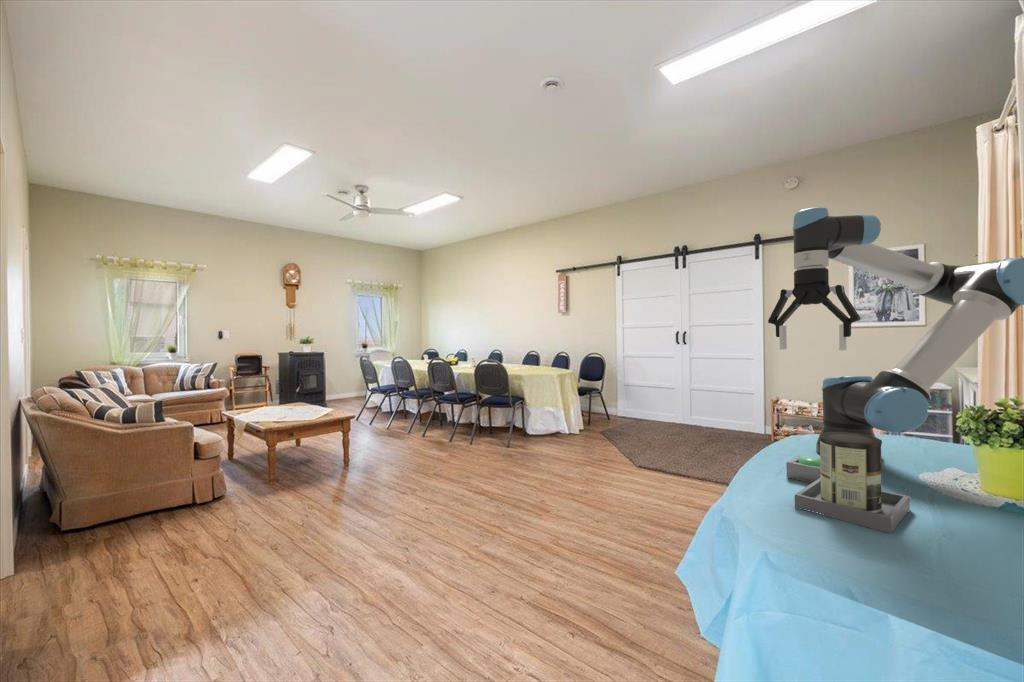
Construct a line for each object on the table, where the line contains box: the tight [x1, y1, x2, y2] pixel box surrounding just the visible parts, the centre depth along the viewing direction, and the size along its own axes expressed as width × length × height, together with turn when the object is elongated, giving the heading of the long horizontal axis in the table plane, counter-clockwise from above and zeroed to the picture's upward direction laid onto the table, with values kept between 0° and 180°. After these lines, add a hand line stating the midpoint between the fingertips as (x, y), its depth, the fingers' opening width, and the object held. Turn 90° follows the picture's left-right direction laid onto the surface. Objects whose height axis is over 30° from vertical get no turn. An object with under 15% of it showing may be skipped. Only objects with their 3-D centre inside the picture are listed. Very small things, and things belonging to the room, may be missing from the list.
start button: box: [799, 455, 820, 467], centre depth 110 cm, size 5×5×4 cm
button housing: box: [785, 455, 821, 484], centre depth 110 cm, size 8×8×4 cm
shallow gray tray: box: [794, 478, 911, 534], centre depth 91 cm, size 16×16×3 cm
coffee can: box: [818, 432, 883, 513], centre depth 91 cm, size 10×10×14 cm
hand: (811, 349), depth 115 cm, fingers open, 13 cm apart
